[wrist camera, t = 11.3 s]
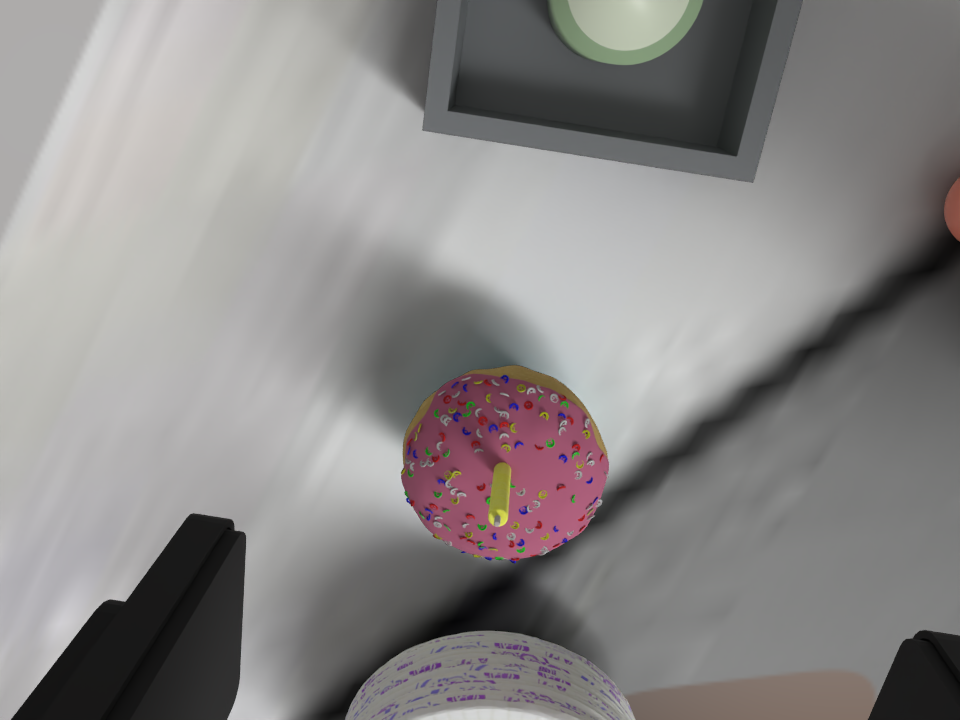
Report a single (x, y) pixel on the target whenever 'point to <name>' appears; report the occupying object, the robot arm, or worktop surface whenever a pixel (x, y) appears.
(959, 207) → the tomato ball
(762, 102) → the bin
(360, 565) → the worktop surface
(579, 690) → the paper bowls
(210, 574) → the robot arm
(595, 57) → the cucumber chunk
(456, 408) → the cupcake
